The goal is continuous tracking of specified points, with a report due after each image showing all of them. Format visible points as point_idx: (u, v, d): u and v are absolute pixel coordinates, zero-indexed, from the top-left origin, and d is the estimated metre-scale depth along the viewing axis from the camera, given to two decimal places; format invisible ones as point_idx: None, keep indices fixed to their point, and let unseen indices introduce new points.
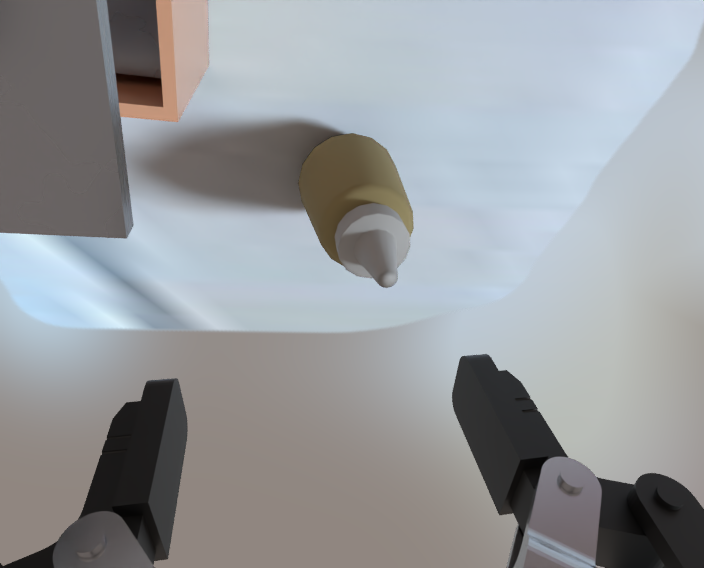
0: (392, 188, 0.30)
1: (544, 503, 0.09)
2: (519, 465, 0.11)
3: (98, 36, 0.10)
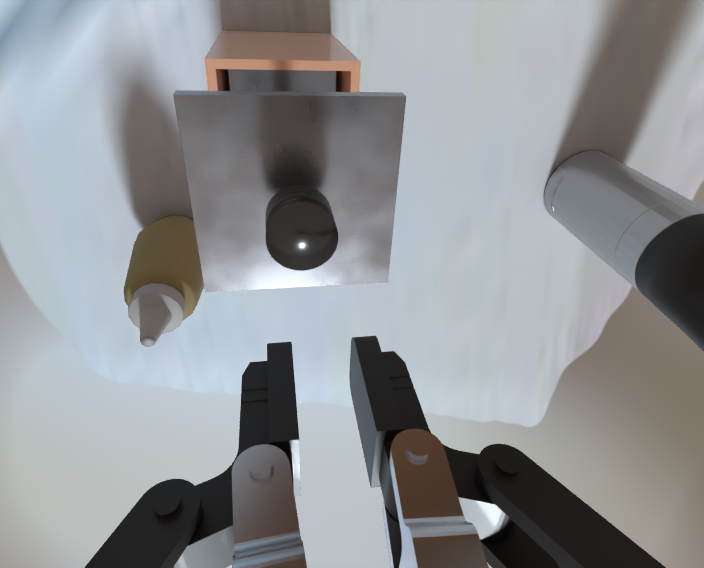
0: (195, 305, 0.45)
1: (406, 485, 0.10)
2: (378, 437, 0.11)
3: (294, 286, 0.27)
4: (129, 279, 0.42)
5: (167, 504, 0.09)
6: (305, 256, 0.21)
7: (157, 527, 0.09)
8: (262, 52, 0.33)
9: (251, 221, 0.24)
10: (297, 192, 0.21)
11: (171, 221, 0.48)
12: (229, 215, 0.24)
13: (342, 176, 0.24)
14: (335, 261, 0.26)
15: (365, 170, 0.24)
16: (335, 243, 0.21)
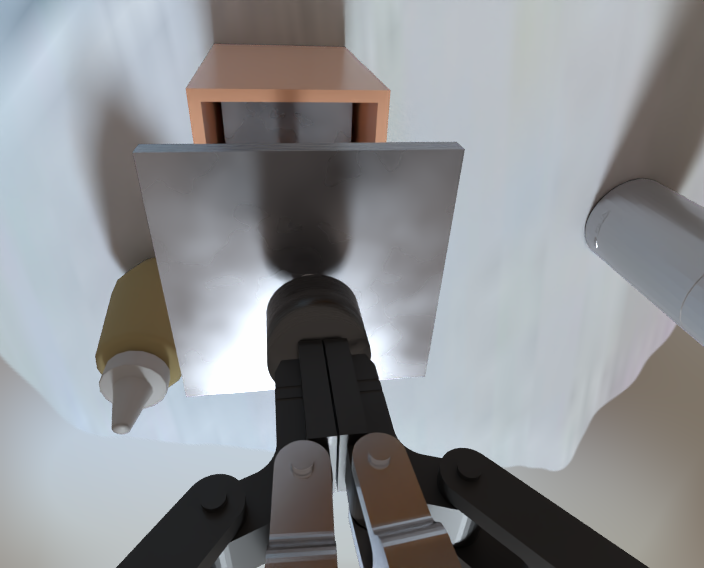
0: None
1: (371, 492, 0.10)
2: (342, 441, 0.11)
3: None
4: (101, 344, 0.35)
5: (214, 499, 0.09)
6: None
7: (205, 521, 0.09)
8: (262, 77, 0.25)
9: (247, 312, 0.18)
10: (312, 289, 0.15)
11: (155, 267, 0.41)
12: (217, 306, 0.17)
13: (371, 253, 0.17)
14: None
15: (403, 245, 0.17)
16: None
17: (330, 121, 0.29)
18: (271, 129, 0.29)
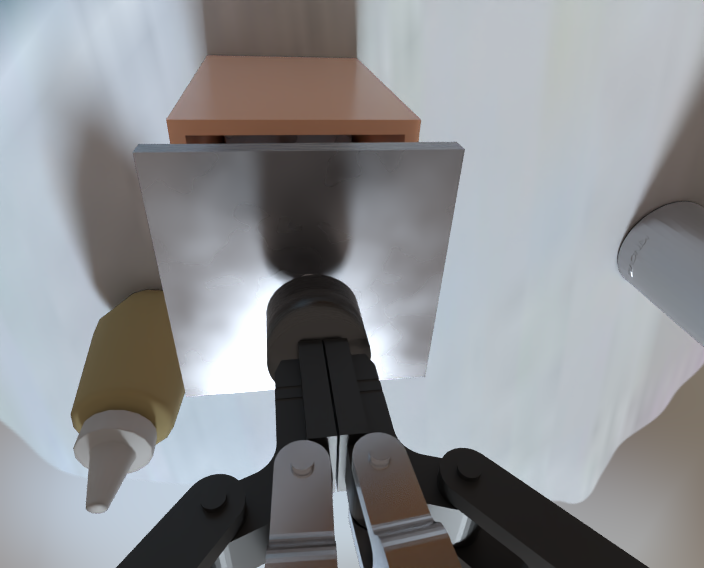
0: (171, 428, 0.33)
1: (371, 492, 0.10)
2: (342, 441, 0.11)
3: None
4: (77, 402, 0.30)
5: (214, 499, 0.09)
6: None
7: (205, 521, 0.09)
8: (262, 101, 0.21)
9: (247, 312, 0.18)
10: (312, 289, 0.15)
11: (142, 305, 0.36)
12: (218, 306, 0.17)
13: (371, 253, 0.17)
14: None
15: (403, 245, 0.17)
16: None
17: None
18: None
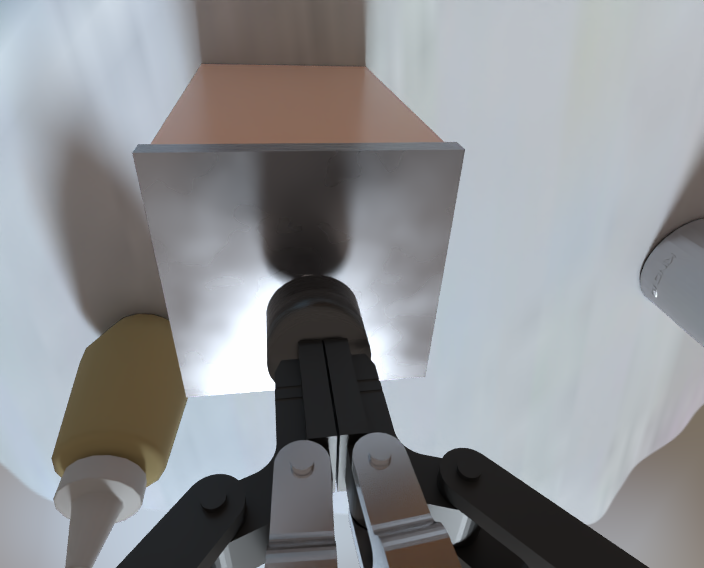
0: (163, 470, 0.30)
1: (371, 492, 0.10)
2: (342, 441, 0.11)
3: None
4: (59, 445, 0.28)
5: (214, 499, 0.09)
6: None
7: (205, 521, 0.09)
8: (262, 121, 0.18)
9: (247, 312, 0.18)
10: (312, 290, 0.15)
11: (132, 333, 0.33)
12: (217, 306, 0.17)
13: (371, 253, 0.17)
14: None
15: (403, 245, 0.17)
16: None
17: None
18: None
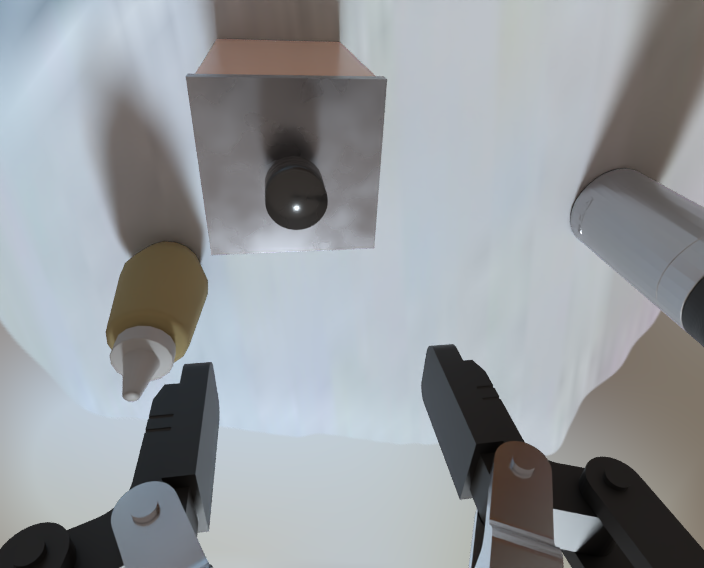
0: (187, 347, 0.40)
1: (501, 490, 0.10)
2: (476, 450, 0.11)
3: (290, 251, 0.30)
4: (112, 320, 0.37)
5: (30, 553, 0.08)
6: (299, 217, 0.25)
7: None
8: (262, 67, 0.28)
9: (252, 190, 0.28)
10: (292, 161, 0.24)
11: (161, 250, 0.43)
12: (233, 184, 0.27)
13: (332, 150, 0.27)
14: (326, 228, 0.30)
15: (352, 145, 0.27)
16: (325, 205, 0.24)
17: None
18: None
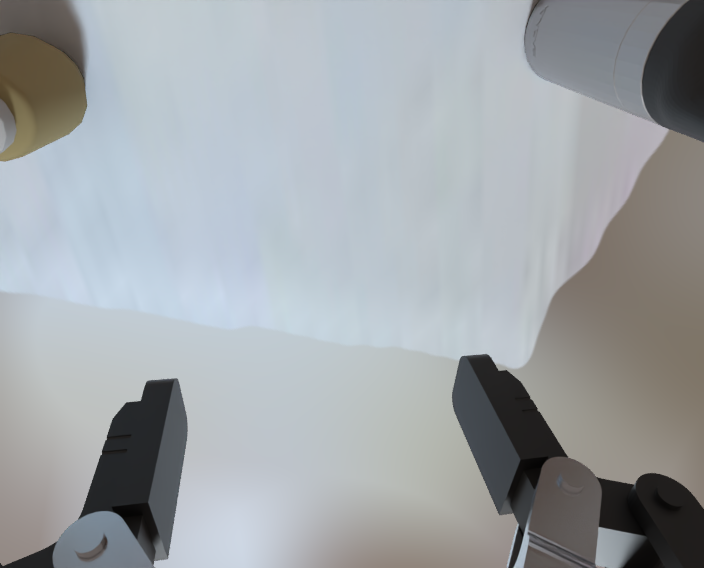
0: (36, 132, 0.33)
1: (544, 503, 0.09)
2: (519, 465, 0.11)
3: None
4: None
5: None
6: None
7: None
8: None
9: None
10: None
11: (19, 34, 0.36)
12: None
13: None
14: None
15: None
16: None
17: None
18: None
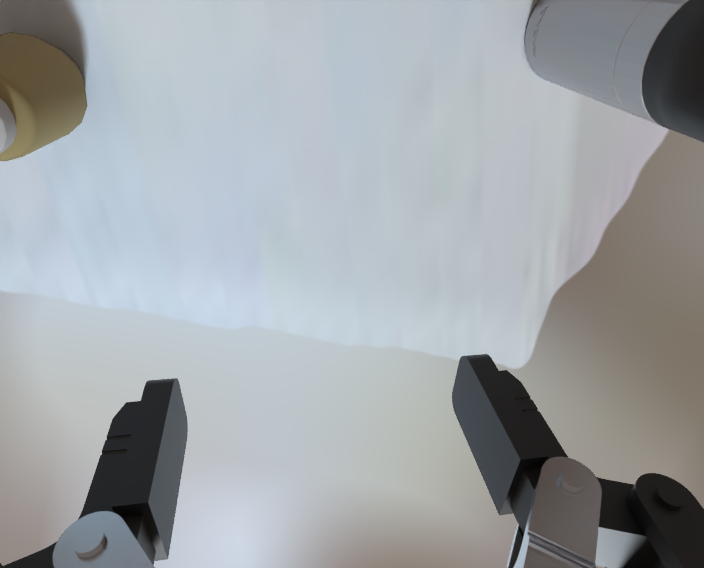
0: (37, 132, 0.33)
1: (544, 503, 0.09)
2: (519, 465, 0.11)
3: None
4: None
5: None
6: None
7: None
8: None
9: None
10: None
11: (19, 34, 0.36)
12: None
13: None
14: None
15: None
16: None
17: None
18: None
